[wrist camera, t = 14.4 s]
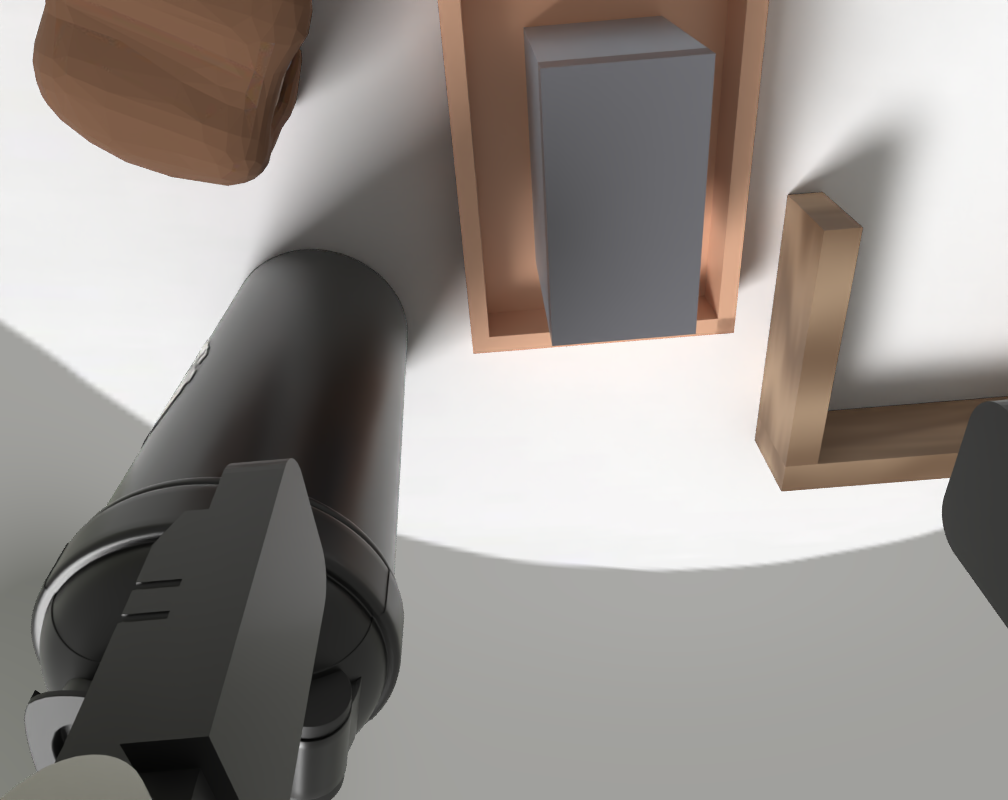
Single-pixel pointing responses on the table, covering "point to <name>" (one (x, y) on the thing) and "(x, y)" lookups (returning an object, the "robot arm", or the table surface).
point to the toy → (175, 79)
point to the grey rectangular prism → (618, 175)
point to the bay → (811, 369)
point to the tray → (507, 167)
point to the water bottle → (259, 437)
